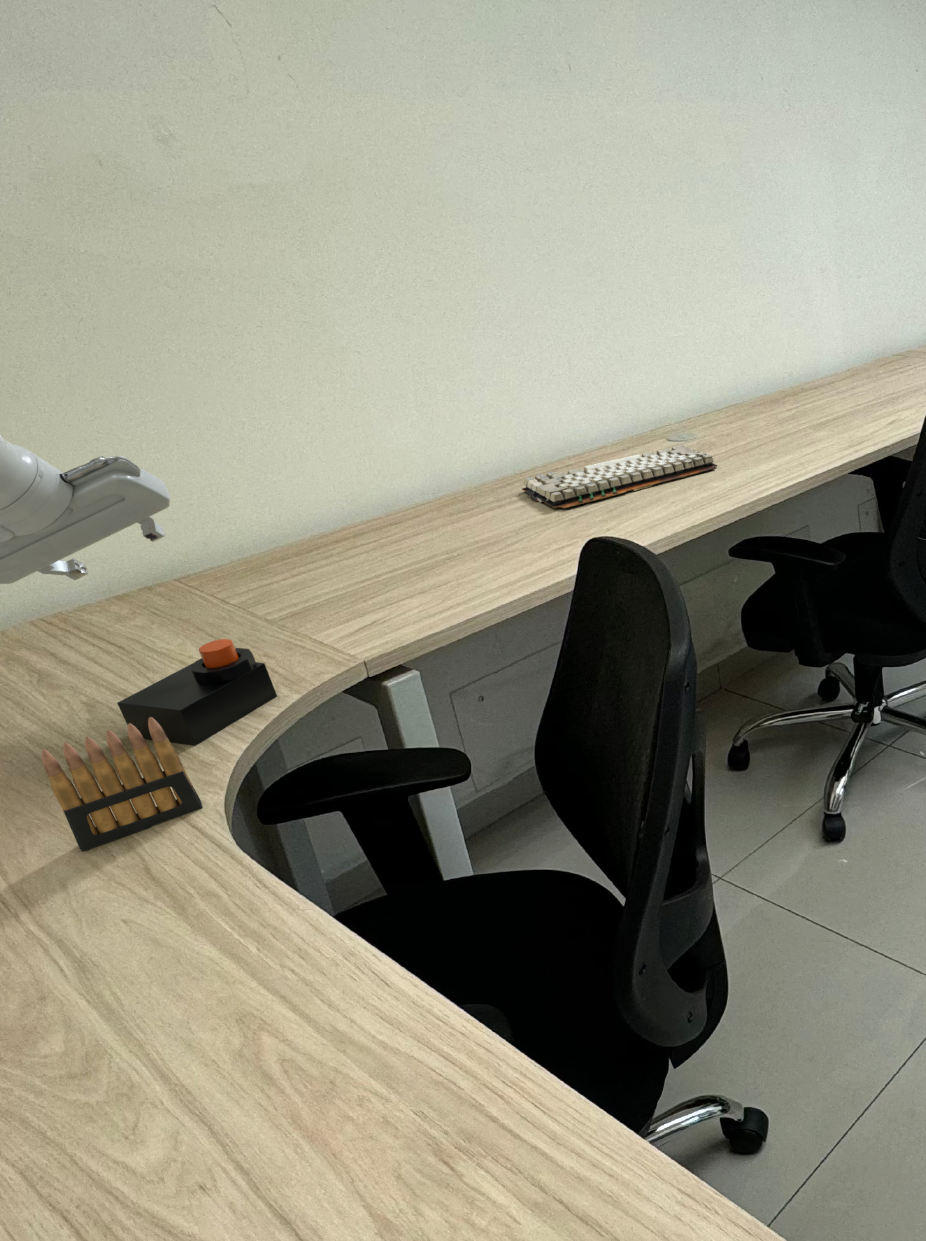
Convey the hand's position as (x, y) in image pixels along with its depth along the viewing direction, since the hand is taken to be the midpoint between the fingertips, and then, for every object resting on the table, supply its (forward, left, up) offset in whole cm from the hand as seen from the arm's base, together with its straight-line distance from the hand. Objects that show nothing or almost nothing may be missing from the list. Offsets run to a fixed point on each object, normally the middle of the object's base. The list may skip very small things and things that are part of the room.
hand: (120, 554), depth 122 cm
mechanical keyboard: (+8, +95, -22) cm, 98 cm away
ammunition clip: (+20, -22, -22) cm, 37 cm away
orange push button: (+8, +1, -15) cm, 17 cm away
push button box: (+6, -2, -22) cm, 23 cm away
